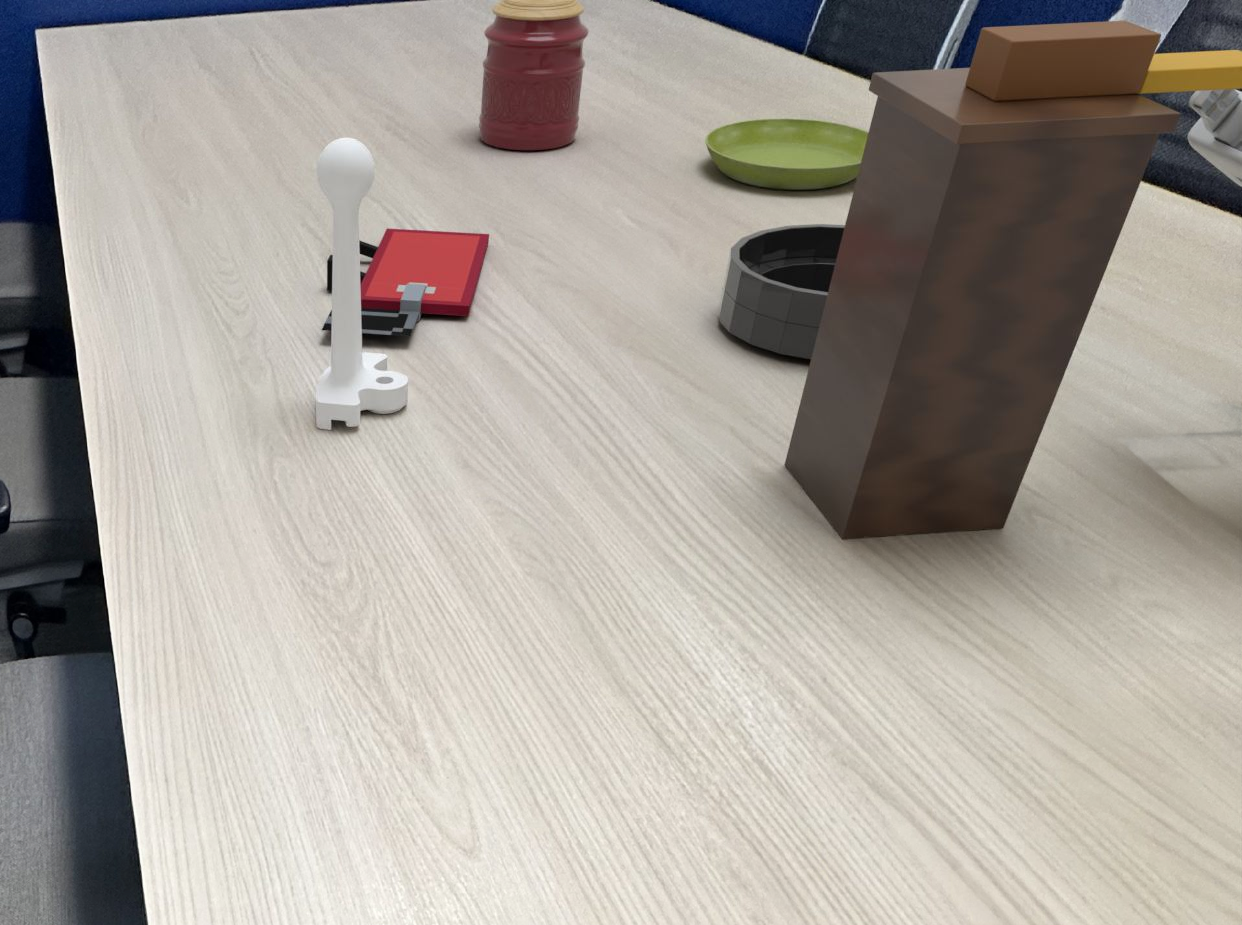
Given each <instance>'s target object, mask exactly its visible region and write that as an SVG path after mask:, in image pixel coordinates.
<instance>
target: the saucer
mask: <svg viewBox="0 0 1242 925" xmlns="http://www.w3.org/2000/svg"><path fill="white" fill-rule="evenodd" d="M868 133H869V131H867V130H865V129H861V128H858V127H856V126H855V127H854V126H851V125H847V124H842V123H837V122H831V121H827V120H818V119H808V118H807V119H804V118H761V119H751V120H744V121H738V122H732V123H729V124H725V125H722V126H719V127H716V128H715V129H712V130H711V131H710V132H708V133H707V135H706V137H705V145H706V148H707V151H708V154H709V156H710V158H711V159H712V161H713V163H714V164H715V165H716V167H717V168H718V169H719V171H721V172H722V173H723V174H724V175H725V176H727V177H729V178H730V179H732V180H734V181H737V182H739V183H742V184H745V185H750V186H753V187H759V188H764V189H765V188H766V189H773V190H785V191H807V190H808V191H810V190H821V189H828V188H832V187H838V186H841V185H844V184H847V183H849V182H851V181H852V180H854V179H857V176H858V172H859V168H860V164H861V160H862V157H863V153H864V149H865V145H866V141H867V137H868Z"/></svg>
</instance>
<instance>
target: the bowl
mask: <svg viewBox="0 0 1242 925" xmlns="http://www.w3.org/2000/svg"><path fill="white" fill-rule="evenodd" d="M844 228H845V224H829V223H827V224H826V223H813V224H812V223H811V224H796V225H784V226H778V227H772V228H767V229H762V230H758V231H756V232H753V233H751V234H748V235H746V236H743V237H742V238H740V239H739V240H737V242H735V244H734V245H733V246H732V247H730V250H729V256H728V261H727V264H726V271H725V275H724V279H723V280H724V281H723V287H722V291H721V295H720V302H719V306H718V307H719V308H718V321H719V322H720V324H721V325H722V326H723V327H724V328H725V329H726V331H727V332H728V333H729V334H731V335H733V336H734V337H737V339H740V340H742V341H744V342H745V343H747V344H749V345H752V346H754V347H757V348H760V349H764V350H767V351H770V352H774V353H776V354H779V355H784V356H790V357H795V358H800V359H805V360H811V358H812V354H813V350H814V346H815V342H816V338H817V334H818V330H819V326H820V322H821V319H822V315H823V311H824V307H825V303H826V299H827V295H828V291H829V287H830V283H831V279H832V275H833V271H834V267H835V263H836V259H837V255H838V251H839V247H840V243H841V240H842V236H843V232H844Z"/></svg>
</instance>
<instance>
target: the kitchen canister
mask: <svg viewBox="0 0 1242 925" xmlns="http://www.w3.org/2000/svg"><path fill="white" fill-rule="evenodd" d="M584 11H585V6H584V5H583V4H582V3H581V2H579V1H578V0H501V1H499V2H498V3H496V4H495V5H493V7H492V14H494V15H495V17H494V20H493V22H492V23H490V24H489V25H488V26H486V28H485V29H484V31H483V32H484V33H483V34H484V37H485V38H486V40H487V50H486V57H485V58H484V60H483V61H482V68H483V72H482V91H481V107H480V108H481V109H480V114H479V117H478V120H479V122H478V129H479V139H480V140H481V141H482V142H483V143H485V144H486V145H489V146H491V147H495V148H499V149H503V150H504V149H506V150H510V151H511V150H513V151H543V150H545V151H546V150H553V149H557V148H561V147H565V146H567V145H570V144H571V143H573V141H575V139H576V135H577V131H578V129H579V121H580V115H579V110H580V100H581V93H582V83H583V73H584V68H585V66H586V61H585V59H584V58H583V50H584V49H583V48H584V47H583V46H584V41H585V40H586V38H587V37H588V35H589V32H590V31H589V28H588V27H587V26H586V25H585V24H584V23H583V22H582V20H581V15H582V14H583V13H584Z"/></svg>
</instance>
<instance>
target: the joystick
mask: <svg viewBox="0 0 1242 925" xmlns="http://www.w3.org/2000/svg"><path fill="white" fill-rule="evenodd" d="M316 166H317V167H316V178H317V183H318V186H319V188H320V190H321V192H322V193H323V195H324V196H325V197H326V199H327V200H328V202H329V204H330V206H331V211H332V255H333V264H332V291H331V310H332V329H331V331H330V332H331V335H330V336H331V337H330V338H331V339H330V344H331V345H330V365H328V367H327V368H325V370H324V371H323V372H322V373H321V375H320V377H319V379H318V380H317V384H316V386H315V387H316V388H315V422H316V428H318V429H319V430H328V431H332V421H343V422H344V423H345V426H346V427H349V428H350V427H351V428H353V427H354V428H355V427H358V426H360V425H361V411H366V410H368V411H369V412H371V413H374V414H379V415H388V414H393V413H397V412H399V411H400V410H402V408H404V407H405V406H406V405H407V404H408V401H409V400H408V399H409V377H408V376H407V375H406V374H403V373H401V372H398V371H393V370H388V355H387V354H384V353H376V352H365V351H363V333H362V324H361V286H360V271H361V256H360V255H361V254H360V248H359V240H360V217H359V215H360V206H361V203H362V201H363V199H364V198H365V197H366V196H367V194H368V193H369V192H370V191H371V188H372V187H373V184H374V181H375V180H374V179H375V175H376V174H375V171H376V170H375V168H376V167H375V162H374V159H373V156H372V153H371V152H370V150H369V149H368V148H367V147H366V145H365V144H364V143H362V142H361V141H359V139H355V138H353V137H340V138H337V139H334V140H333V141H331V142H329V143H328V144H327V145H326V147H324V149H323V150H322V151H321V153H320V156H319V158H318V161H317V165H316Z"/></svg>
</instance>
